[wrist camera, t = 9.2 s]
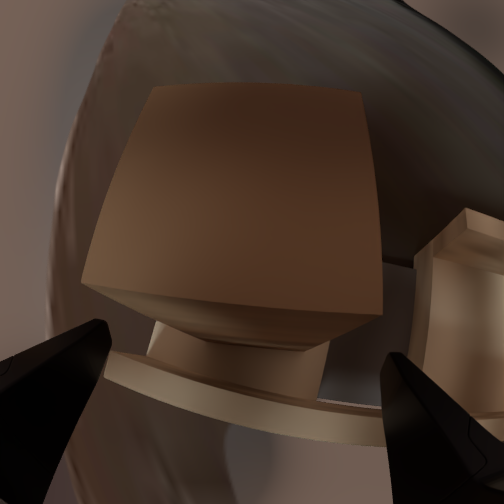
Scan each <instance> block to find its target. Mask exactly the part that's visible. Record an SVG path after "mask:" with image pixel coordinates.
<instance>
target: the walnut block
mask: <svg viewBox="0 0 504 504" xmlns="http://www.w3.org/2000/svg"><path fill="white" fill-rule="evenodd" d="M81 283H82V284H84V285H86V286H88V287H90V288H92V289H94V290H95V291H97V292H99V293H101V294H103V295H105V296H107V297H109V298H111V299H113V300H115V301H117V302H119V303H121V304H123V305H125V306H127V307H129V308H131V309H133V310H135V311H137V312H139V313H142V314H144V315H146V316H148V317H150V318H152V319H154V320H157V321H159V322H161V323H163V324H165V325H168V326H170V327H172V328H174V329H177V330H179V331H181V332H184V333H186V334H188V335H191V336H193V337H196V338H198V339H200V340H203V341H205V342H213V343H220V344H228V345H237V346H245V347H255V348H265V349H276V350H288V351H302V352H305V351H307V350H309V349H312V348H314V347H316V346H318V345H321V344H323V343H325V342H327V341H330V340H332V339H334V338H336V337H338V336H341V335H343V334H345V333H347V332H349V331H351V330H353V329H355V328H357V327H359V326H361V325H363V324H365V323H367V322H369V321H371V320H373V319H375V318H377V317H379V316H381V315H383V276H382V249H381V232H380V219H379V207H378V197H377V188H376V179H375V171H374V164H373V157H372V150H371V144H370V137H369V132H368V126H367V120H366V115H365V110H364V105H363V100H362V95H361V92H355V91H348V90H341V89H333V88H325V87H316V86H305V85H292V84H276V83H198V84H181V85H169V86H158V87H154V88H153V90H152V92H151V93H150V95H149V97H148V99H147V101H146V103H145V105H144V107H143V109H142V112H141V114H140V116H139V118H138V120H137V122H136V124H135V126H134V129H133V131H132V133H131V135H130V137H129V140H128V142H127V144H126V147H125V149H124V151H123V154H122V156H121V159H120V161H119V164H118V166H117V169H116V171H115V174H114V176H113V179H112V182H111V184H110V187H109V190H108V193H107V195H106V198H105V201H104V204H103V207H102V210H101V213H100V216H99V219H98V222H97V225H96V228H95V232H94V235H93V238H92V242H91V245H90V249H89V252H88V256H87V260H86V263H85V267H84V271H83V275H82V279H81Z"/></svg>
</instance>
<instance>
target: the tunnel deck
mask: <svg viewBox="0 0 504 504" xmlns="http://www.w3.org/2000/svg"><path fill="white" fill-rule="evenodd" d="M382 276H383V315H381V316H379V317H377V318H375V319H373V320H371V321H369V322H367V323H365V324H363V325H361V326H359V327H357V328H355V329H353V330H351V331H349V332H347V333H345V334H343V335H341V336H338V337H336V338H334V339H332V340H330V341H327V342H325V343H323V344H321V345H318V346H316V347H314V348H312V349H309V350H307V351H305V352H302V351H288V350H276V349H265V348H255V347H245V346H237V345H228V344H220V343H213V342H205V341H203V340H200V339H198V338H196V337H193V336H191V335H188V334H186V333H184V332H181V331H179V330H177V329H174V328H172V327H170V326H168V325H165V324H163V323H161V322H159V321H156V324H155V327H154V331H153V334H152V338H151V341H150V345H149V348H148V352H147V356H142V355H135V354H129V353H122V352H116V351H110V354H109V358H108V361H107V365H106V369H105V373H104V377H105V378H107V379H109V380H111V381H113V382H116V383H118V384H120V385H123V386H125V387H127V388H130V389H132V390H134V391H137V392H139V393H142V394H144V395H147V396H149V397H152V398H155V399H157V400H160V401H163V402H166V403H168V404H171V405H174V406H177V407H180V408H183V409H186V410H189V411H192V412H195V413H198V414H201V415H205V416H208V417H211V418H215V419H218V420H222V421H226V422H229V423H233V424H237V425H241V426H245V427H249V428H253V429H258V430H262V431H267V432H272V433H277V434H282V435H287V436H293V437H298V438H304V439H311V440H318V441H325V442H332V443H342V444H351V445H362V446H377V447H387V446H386V440H385V433H384V427H383V420H382V410H380V409H371V408H361V407H353V406H346V405H339V404H332V403H326V402H320V401H316V399H317V398H322V399H328V400H335V401H342V402H349V403H357V404H365V405H374V406H381V390H380V371H381V368H382V366H383V363H384V361H385V358H386V356H387V354H388V353H389V352H401V353H403V354H404V355H405V356H406V357H407V358H408V359H409V360H411V361H412V362H413V363H414V364H415V365H416V366H417V367H418V368H419V369H421V370H422V371H423V372H424V373H425V374H426V375H427V376H428V377H429V378H431V379H432V380H433V381H434V382H435V383H436V384H437V385H438V386H439V387H440V388H442V389H443V390H444V391H445V392H446V393H447V394H448V395H449V396H450V397H451V398H453V399H454V400H455V401H456V402H457V403H458V404H459V405H460V406H461V407H462V408H463V409H464V410H466V411H467V412H468V413H469V414H470V416H472V417H473V418H474V419H475V420H476V421H477V422H479V423H480V424H481V425H482V426H483V427H484V428H485V429H486V430H488V431H489V432H490V433H491V434H492V435H494V436H495V437H496V438H497V439H499V440H500V441H504V221H501V220H498V219H496V218H493V217H490V216H488V215H485V214H482V213H479V212H476V211H474V210H471V209H468V208H465V209H464V210H463V211H462V212H461V213H460V214H459V215H458V216H457V217H456V218H454V219H453V220H452V221H451V222H450V223H449V224H448V225H447V226H446V227H445V228H444V229H443V230H442V231H441V232H440V233H439V234H438V235H437V236H436V237H435V238H434V239H433V240H431V241H430V242H429V243H428V244H427V245H426V246H425V247H424V248H423V249H422V250H420V251H419V252H418V253H417V254H416V255H415V256H414V267H413V269H412V268H407V267H403V266H398V265H394V264H390V263H385V262H382Z"/></svg>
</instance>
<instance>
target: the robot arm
mask: <svg viewBox="0 0 504 504" xmlns="http://www.w3.org/2000/svg"><path fill="white" fill-rule="evenodd" d="M111 346H112V338H111V335H110V331H109V327H108V324H107V322H106V321H105V320H101V319H93V320H91V321H89V322H86V323H84V324H82V325H80V326H78V327H75V328H73V329H71V330H69V331H66V332H64V333H62V334H60V335H58V336H55V337H53V338H51V339H49V340H47V341H44V342H43V343H40V344H38V345H36V346H33V347H31V348H29V349H27V350H25V351H23V352H20V353H18V354H16V355H14V356H11V357H9V358H7V359H5V360H3V361H1V362H0V504H43V502H44V499H45V497H46V494H47V491H48V489H49V486H50V484H51V481H52V479H53V476H54V474H55V471H56V469H57V467H58V464H59V462H60V460H61V457H62V455H63V453H64V450H65V448H66V446H67V444H68V442H69V439H70V437H71V435H72V433H73V431H74V429H75V426H76V424H77V422H78V420H79V418H80V416H81V414H82V412H83V410H84V408H85V406H86V404H87V402H88V400H89V398H90V396H91V394H92V392H93V390H94V388H95V386H96V383H97V381H98V379H99V377H100V374H101V371H102V369H103V366H104V364H105V361H106V359H107V356H108V353H109V351H110V349H111ZM380 390H381V407H382V420H383V427H384V433H385V440H386V446H387V453H388V461H389V469H390V477H391V486H392V495H393V504H504V443H502V442H501V441H500V440H499V439H497V438H496V437H495V436H494V435H492V434H491V433H490V432H489V431H488V430H486V429H485V428H484V427H483V426H482V425H481V424H480V423H479V422H477V421H476V420H475V419H474V418H473V417H472V416H470V414H469V413H468V412H467V411H466V410H464V409H463V408H462V407H461V406H460V405H459V404H458V403H457V402H456V401H455V400H454V399H453V398H451V397H450V396H449V395H448V394H447V393H446V392H445V391H444V390H443V389H442V388H440V387H439V386H438V385H437V384H436V383H435V382H434V381H433V380H432V379H431V378H429V377H428V376H427V375H426V374H425V373H424V372H423V371H422V370H421V369H419V368H418V367H417V366H416V365H415V364H414V363H413V362H412V361H411V360H409V359H408V358H407V357H406V356H405V355H404V354H403V353H401V352H389V353H388V354H387V356H386V358H385V361H384V363H383V366H382V368H381V371H380Z"/></svg>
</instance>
